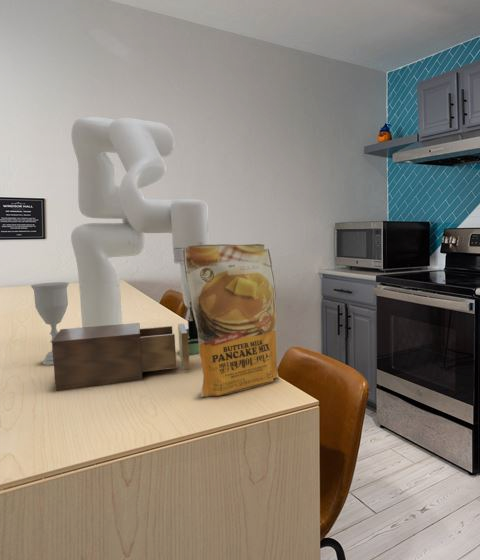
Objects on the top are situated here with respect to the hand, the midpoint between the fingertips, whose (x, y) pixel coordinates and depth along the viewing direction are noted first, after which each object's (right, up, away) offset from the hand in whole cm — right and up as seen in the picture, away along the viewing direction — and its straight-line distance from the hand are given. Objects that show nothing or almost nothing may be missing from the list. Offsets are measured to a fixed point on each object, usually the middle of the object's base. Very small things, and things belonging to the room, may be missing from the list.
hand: (197, 337), depth 114 cm
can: (-7, -5, +12) cm, 15 cm away
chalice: (-34, -6, +3) cm, 34 cm away
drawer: (-6, -6, -2) cm, 9 cm away
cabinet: (-16, -7, -8) cm, 20 cm away
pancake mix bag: (+14, -8, -14) cm, 21 cm away
